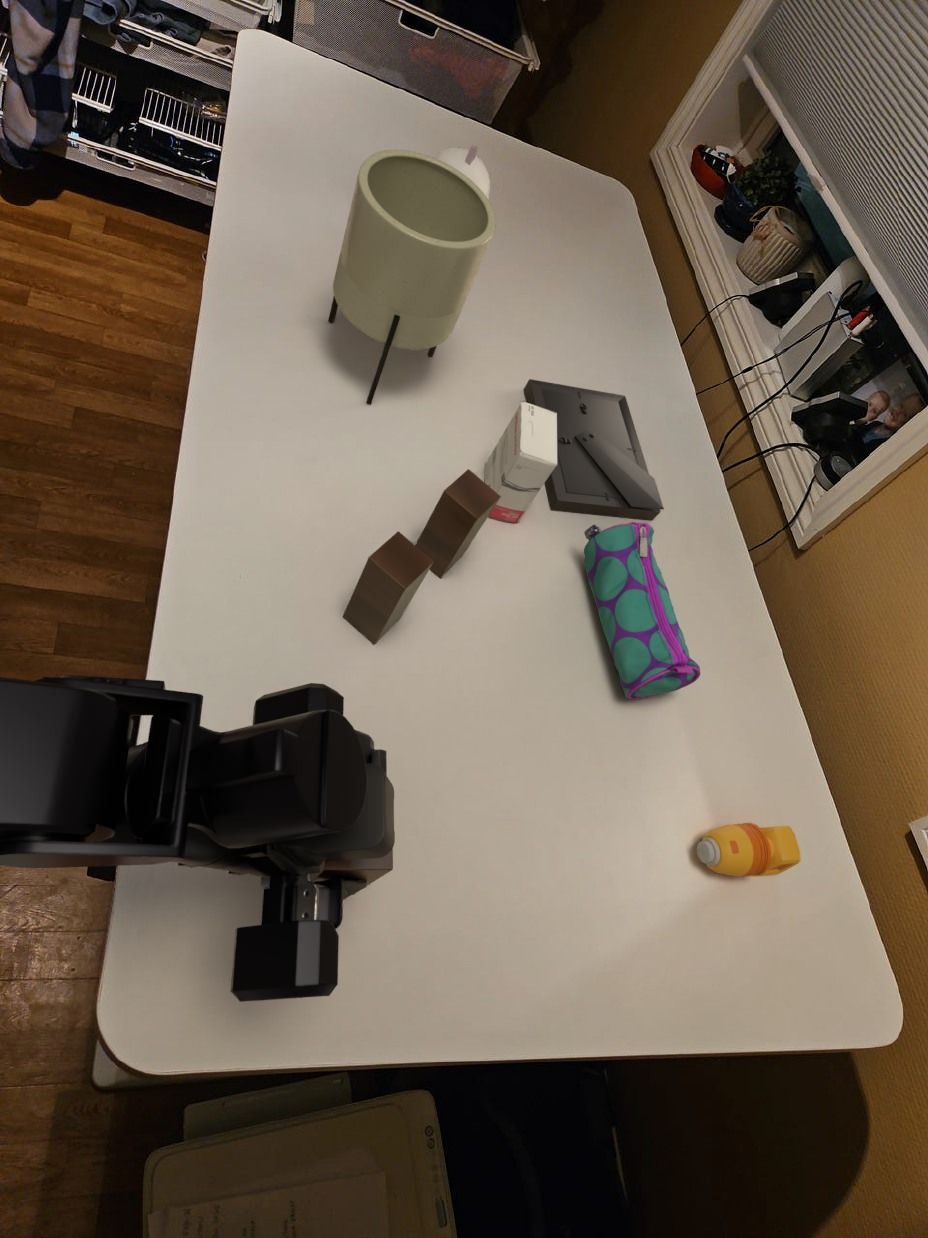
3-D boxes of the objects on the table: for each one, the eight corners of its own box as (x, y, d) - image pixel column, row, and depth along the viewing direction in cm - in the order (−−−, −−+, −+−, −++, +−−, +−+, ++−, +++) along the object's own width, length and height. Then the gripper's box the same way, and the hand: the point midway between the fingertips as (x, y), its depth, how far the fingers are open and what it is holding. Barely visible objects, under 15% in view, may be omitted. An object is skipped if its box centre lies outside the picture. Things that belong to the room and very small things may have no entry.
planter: (308, 385, 89) (346, 214, 70) (330, 302, 97) (370, 129, 78) (425, 422, 93) (492, 270, 74) (437, 340, 101) (500, 184, 82)
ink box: (517, 525, 90) (559, 466, 80) (480, 515, 89) (519, 454, 79) (518, 473, 94) (559, 410, 84) (483, 462, 93) (521, 398, 83)
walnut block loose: (295, 896, 55) (324, 870, 46) (298, 836, 58) (326, 799, 48) (353, 895, 57) (393, 869, 47) (354, 836, 59) (392, 801, 49)
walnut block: (374, 644, 75) (405, 589, 66) (342, 616, 76) (368, 557, 66) (400, 618, 78) (434, 561, 68) (369, 591, 78) (398, 530, 68)
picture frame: (652, 520, 99) (617, 405, 108) (663, 508, 96) (627, 391, 105) (550, 510, 93) (523, 389, 102) (560, 497, 91) (531, 374, 100)
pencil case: (565, 552, 91) (603, 508, 83) (624, 553, 94) (666, 511, 86) (610, 707, 82) (657, 675, 74) (672, 703, 86) (724, 671, 78)
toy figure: (693, 883, 76) (783, 876, 80) (725, 875, 71) (819, 867, 75) (680, 831, 78) (768, 826, 82) (711, 820, 73) (803, 815, 77)
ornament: (475, 248, 114) (505, 175, 104) (413, 227, 111) (437, 150, 101) (475, 209, 119) (503, 136, 109) (415, 188, 115) (438, 111, 106)
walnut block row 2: (440, 578, 82) (477, 519, 72) (410, 553, 82) (443, 490, 73) (462, 556, 85) (501, 496, 75) (433, 532, 85) (468, 468, 75)
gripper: (327, 994, 32) (470, 987, 45) (337, 625, 41) (455, 707, 54) (142, 1007, 36) (321, 997, 49) (186, 668, 45) (329, 734, 58)
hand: (361, 850), depth 52 cm, fingers closed on walnut block loose, 4 cm apart
